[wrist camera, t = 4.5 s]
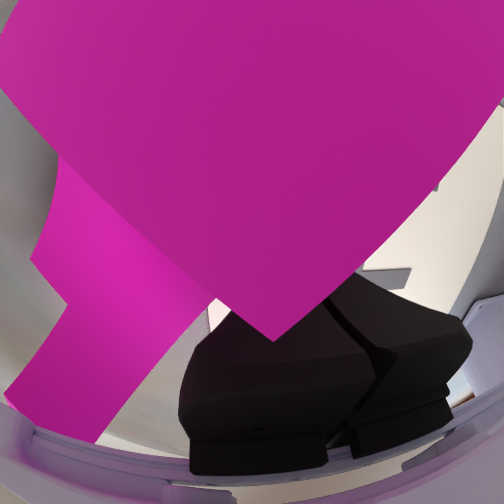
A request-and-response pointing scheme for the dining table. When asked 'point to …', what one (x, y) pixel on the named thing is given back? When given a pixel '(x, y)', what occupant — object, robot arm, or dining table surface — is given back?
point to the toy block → (226, 163)
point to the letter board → (437, 230)
